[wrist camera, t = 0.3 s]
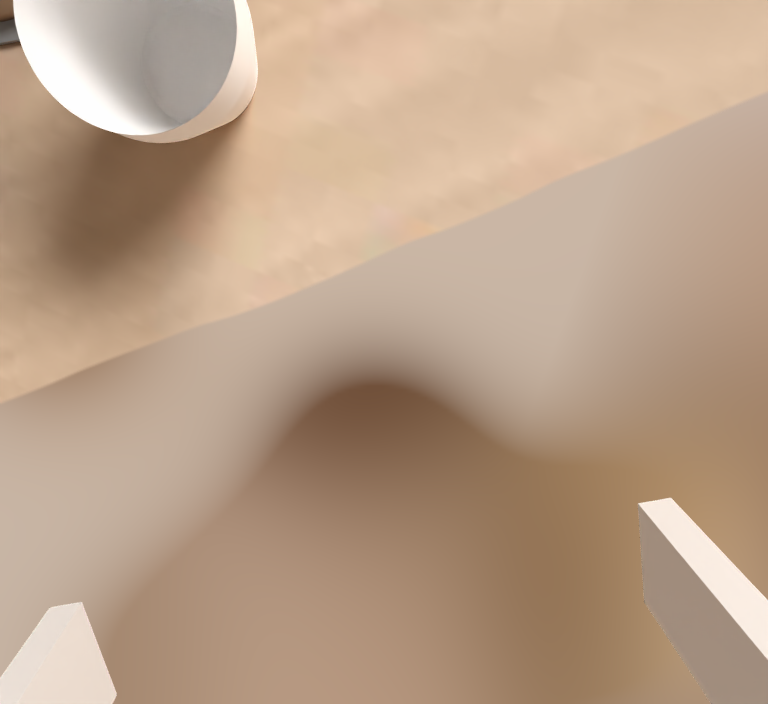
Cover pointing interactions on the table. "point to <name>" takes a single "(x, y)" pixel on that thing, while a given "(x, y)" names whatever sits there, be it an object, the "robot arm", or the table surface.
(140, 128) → the cup
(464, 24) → the table surface
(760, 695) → the robot arm
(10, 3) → the lid
